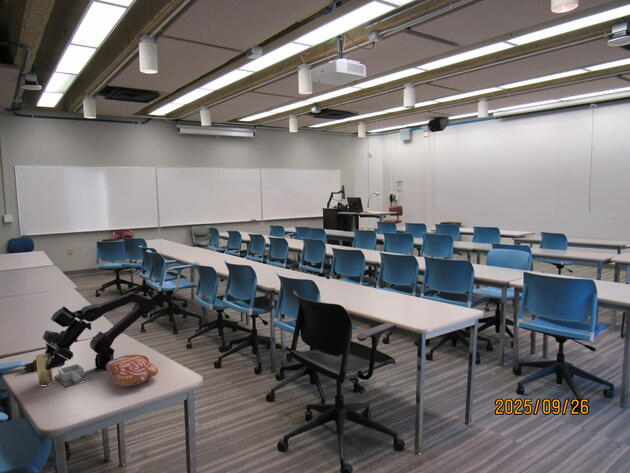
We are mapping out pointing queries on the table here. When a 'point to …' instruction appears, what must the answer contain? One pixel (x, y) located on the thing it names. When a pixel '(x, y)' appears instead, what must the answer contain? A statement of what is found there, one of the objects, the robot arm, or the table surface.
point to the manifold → (71, 375)
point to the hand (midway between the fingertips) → (43, 366)
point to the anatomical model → (131, 369)
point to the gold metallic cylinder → (44, 369)
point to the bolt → (33, 365)
